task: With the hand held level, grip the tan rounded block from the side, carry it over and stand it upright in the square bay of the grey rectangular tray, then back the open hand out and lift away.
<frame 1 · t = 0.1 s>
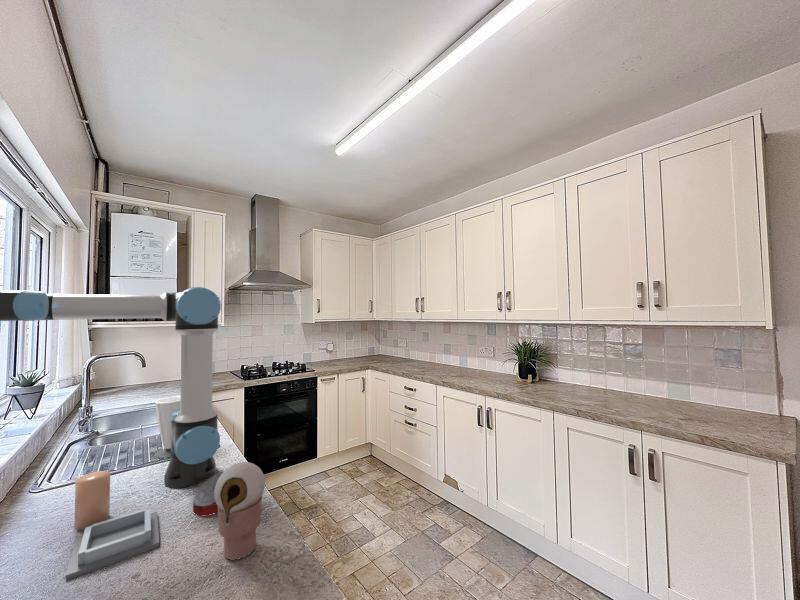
canned food: (212, 507, 96), on the countertop
grey rectangular tray: (117, 543, 81), on the countertop
ice cream cone: (240, 551, 78), on the countertop
tan rounded block: (92, 521, 90), on the countertop
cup: (171, 452, 135), on the countertop
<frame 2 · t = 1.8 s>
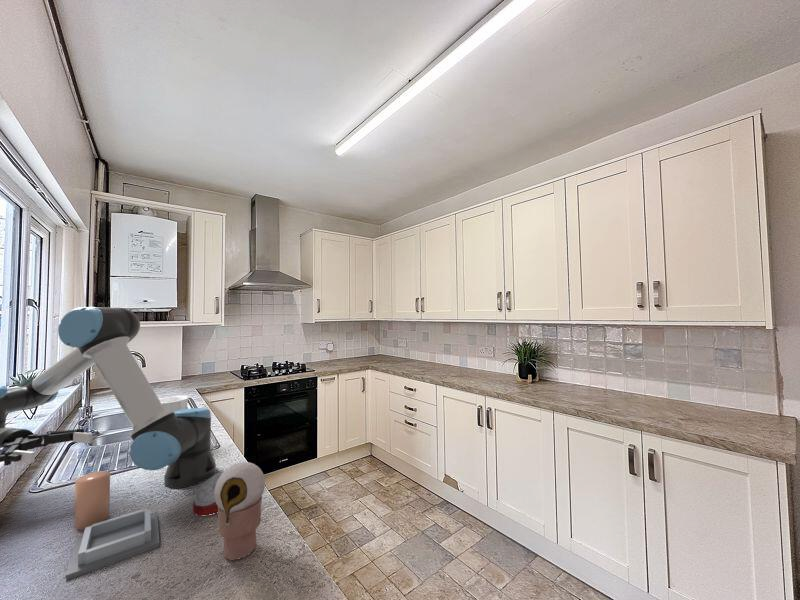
hand: (64, 447, 93), 19 cm above the countertop, tool horizontal, fingers open, 13 cm apart
nothing on the countertop moved.
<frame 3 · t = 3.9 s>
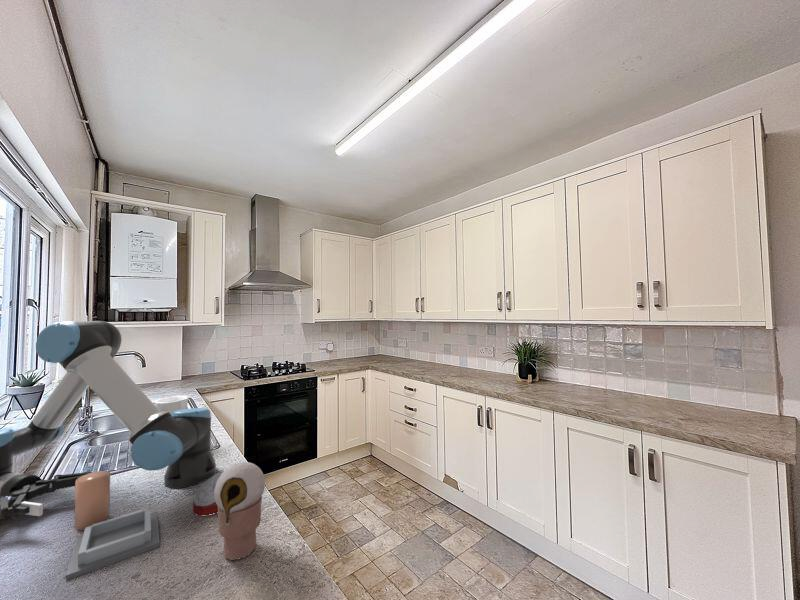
hand: (72, 495, 91), 6 cm above the countertop, tool horizontal, fingers open, 13 cm apart
nothing on the countertop moved.
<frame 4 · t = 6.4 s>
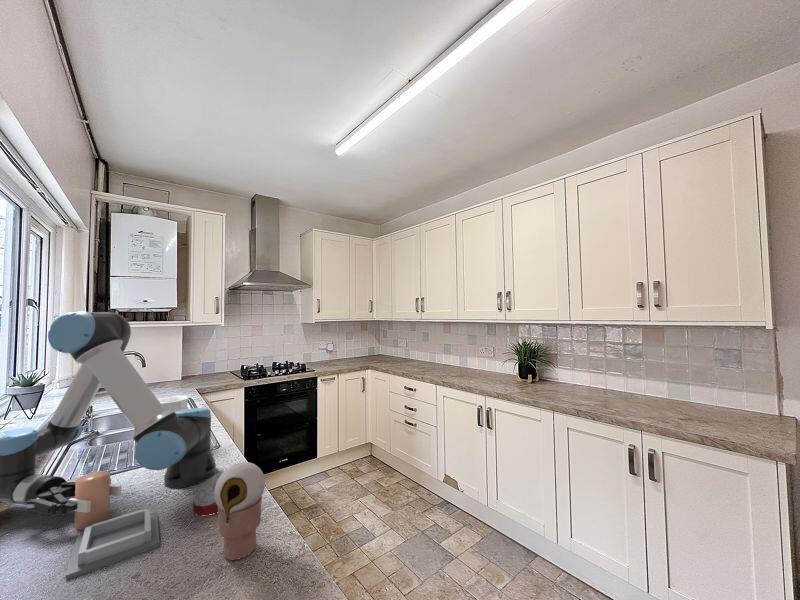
hand: (104, 498, 89), 7 cm above the countertop, tool horizontal, fingers closed on tan rounded block, 7 cm apart
tan rounded block: (92, 521, 90), on the countertop, touching gripper
everything else where it was.
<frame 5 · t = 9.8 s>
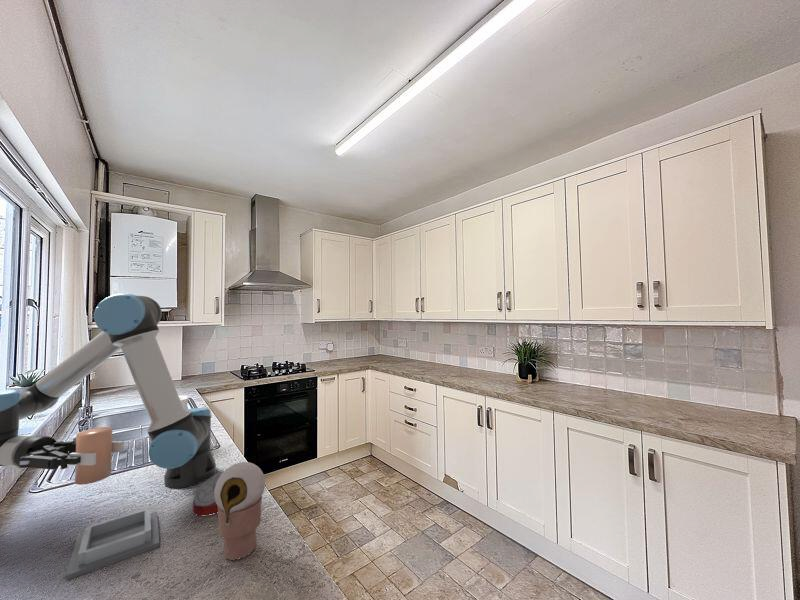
hand: (109, 452, 86), 20 cm above the countertop, tool horizontal, fingers closed on tan rounded block, 7 cm apart
tan rounded block: (93, 477, 87), point 13 cm above the countertop, touching gripper
everything else where it was.
when the fingers open (9 cm above the countertop, at t = 13.5 s): tan rounded block drops 1 cm, resting on grey rectangular tray.
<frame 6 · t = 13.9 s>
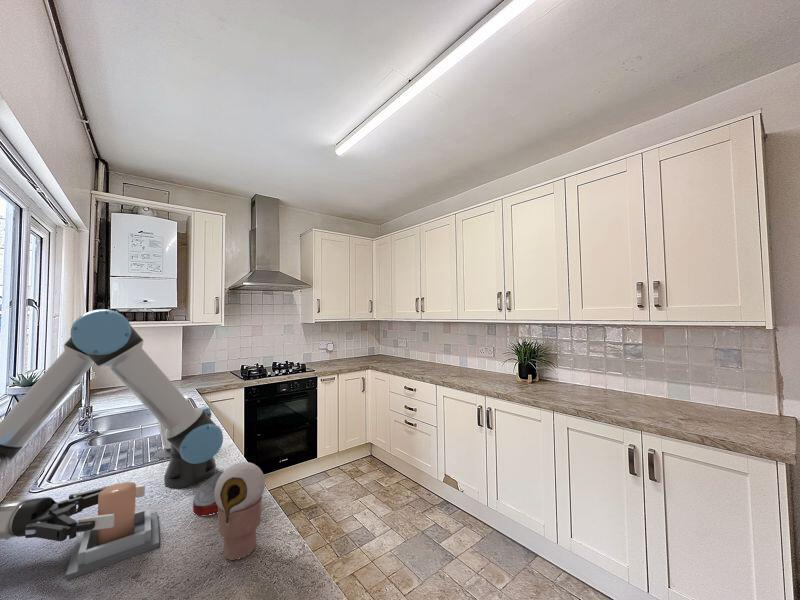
hand: (130, 504, 82), 9 cm above the countertop, tool horizontal, fingers open, 12 cm apart
tan rounded block: (116, 539, 81), point 1 cm above the countertop, touching grey rectangular tray
everything else where it was.
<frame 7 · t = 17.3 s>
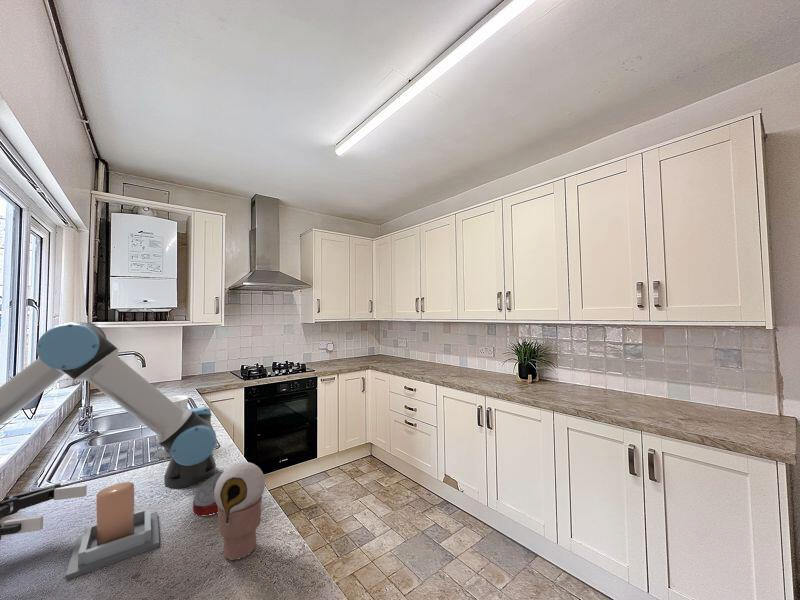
hand: (65, 505, 79), 11 cm above the countertop, tool horizontal, fingers open, 13 cm apart
nothing on the countertop moved.
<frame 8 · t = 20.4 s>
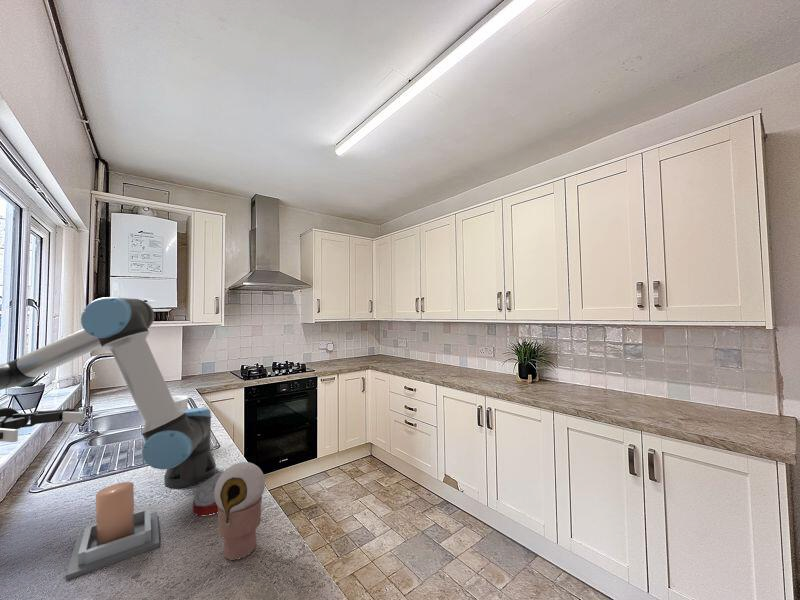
hand: (51, 426, 84), 28 cm above the countertop, tool horizontal, fingers open, 13 cm apart
nothing on the countertop moved.
at the end: tan rounded block 0.3 cm off-centre on the grey rectangular tray, point 1.1 cm above the grey rectangular tray's base; tan rounded block tilted 2°; the gripper is holding nothing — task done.
